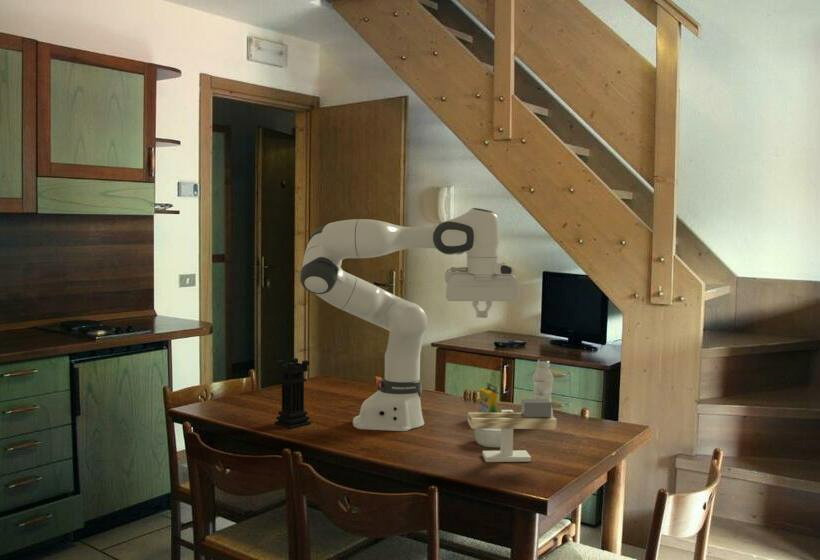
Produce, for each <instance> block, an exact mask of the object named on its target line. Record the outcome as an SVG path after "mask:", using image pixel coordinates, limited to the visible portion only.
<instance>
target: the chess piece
mask: <svg viewBox="0 0 820 560" xmlns="http://www.w3.org/2000/svg"><path fill="white" fill-rule="evenodd" d="M276 366H277V369H278V372H279V373H280V372H281V378H280V379H279V381H280V382H281V410H279V411H278V416H276V417H275V418H276V421H274V425H276V426H278V425H279V426H278V427H283V428H285V427H286V428H285V429H288V428H289V430H294V429H298V428H301V427H306V426H309V425H311V426H312V421H310V416H307V415H308V411H306V410H305V382H306V381H307V379H306V378H305V372H308V370H309V369H308V366H310V360H301V362H299V358H297V357H292V358H290V362H287V363H285V361H284V360H280V359H279V360H276ZM297 427H298V428H297ZM293 428H294V429H293Z"/></svg>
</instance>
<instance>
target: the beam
mask: <svg viewBox="0 0 820 560" xmlns="http://www.w3.org/2000/svg"><path fill="white" fill-rule="evenodd" d="M557 420H558V419H557V418H556V417H555V416H554V414H553V415H552V414H551V418H521V412H514V413H512V412H510V411H508V412H506V413H501V412H497V413H480V412H474V411H473V412H467V423H468V425H469V426H470V428H471V429H513V430H516V429H517V430H518V429H519V430H556V429H557Z"/></svg>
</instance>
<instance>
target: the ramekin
mask: <svg viewBox="0 0 820 560" xmlns="http://www.w3.org/2000/svg"><path fill="white" fill-rule="evenodd" d="M474 436H475V441H476V443H477V444H478V445H480V446H482V447H487V448H500V443H501V429H474Z"/></svg>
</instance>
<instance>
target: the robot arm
mask: <svg viewBox="0 0 820 560" xmlns="http://www.w3.org/2000/svg"><path fill="white" fill-rule="evenodd" d="M499 244H500V221H499V217H498V215H497V214H496V213H495V212H494V211H492V210H489V209H484V208H479V207H474V208H473V207H472V208H471V209H469V210H468V211H466V212H464V213H463V214H461V215H458V216H457V217H454V218H452V219H448V220H445V221H443V222H441V223H440V224H438V225H436V226H435V225H434V226H402V225H397V224H393V223H390V222H388V221H381V220H376V219H368V218H367V219H366V218H365V219H363V218H362V219H361V218H360V219H359V218H358V219H357V218H356V219H355V218H354V219H345V220H338V221H334V222H330V223H327V224H326V225H325V226H321V227H318V228H317V229H315V230H314V232H313V233H312V234H311V236H310V237H309V239H308V244H307V246H306V249H305V251H304V254H303V261H302V264H301V265H302V267H301V269H300V274H299V275H300V276H299V278H300V279H299V280H300V283H301V285H302V287H303V288H304V290H306V291H308V292H310V293H312V294H315V295H316V296H317V297H319V298H320V299H321V300H323V301H324V302H325V303H328V304H330V305H331V306H334V307H335V308H337V309H339V310H341V311H343V312H347V313H348V314H351V315H353V316H355V317H357V318H359V319H362V320H364V321H366V322H367V323H368V322H369V323H371V324H373V325H376V326H377V327H380V328H382V329H385V330H387V331H388V332H389V333H388V335H389V336H388V342H387V346H386V351H385V353H384V378H381V377H378V378H377V379H376V384H377V391H376V392H374V393H373V394H372V395H371V396H370V395H369V397H368V398H366V399H364V401H363V402H362V403H361V406H360V410H359V415H357V416H355V417H353V418H352V426H353V427H354V428H356V429H357V430H369V431H370V430H374V431H393V432H395V431H396V432H406V431H407V432H408V431H410V430H411V429H415V428H420V427H423V426H424V425H425V421H424V417H423V412H422V405H421V404H422V403H421V396H422V379H421V375H420V374H421V352H422V347H423V341H424V338H425V337H424V336H425V331H426V330H427V327H428V321H429V319H428V316H427V313H426V312H425V310H424V309H423V308H422V307H421V306H420V305H419V304H418V303H415V302H412V301H409V300H406V299H404V298H402V297H399V296H397V295H395V294H393V293H391V292H389V291H387V290H385V289H383V288H381V287H379V286H377V285H375V284H374V283H371V282H369V281H367V280H364V279H362V278H360V277H358V276H356V275H353V274H351V273H349V272H346V271H345V270H343V268H342V261H343V260H345V259H370V258H376V257H382V256H387V255H389V254H391V253H395V252H398V251H402V250H411V249H412V250H414V249H437V250H438V251H439V252H440V253H442V254H444V255H447V256H454V255H463V254H464V253H466V266H463V267H455V266H454V267H450V268H449V269H447V270H446V271H445V274H444V280H445V283H446V287H445V299H446V300H447V301H449V302H472V304H471V305H472V307H473V308H474V310H475V311H476V312H475V314H476V316H475V318H476V319H477V318H479V319H480V318H482V319H484V318H485V319H486V318H488V312H489V311H490V309H491V308H492V306H493V305H492V303H493V302H518V300H519V299H520V286H519V285H520V283H519V281H518V278H517V277H516V276H515V274H516V271H517V269H516V267H514V266H512V265H510V264H507V263H505V262H500V254H499ZM479 302H485V305H486V307H485V309H484V310H480V309H479V308H478V306H479Z"/></svg>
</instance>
